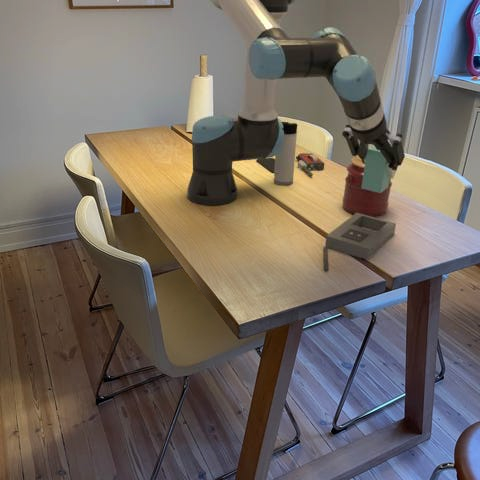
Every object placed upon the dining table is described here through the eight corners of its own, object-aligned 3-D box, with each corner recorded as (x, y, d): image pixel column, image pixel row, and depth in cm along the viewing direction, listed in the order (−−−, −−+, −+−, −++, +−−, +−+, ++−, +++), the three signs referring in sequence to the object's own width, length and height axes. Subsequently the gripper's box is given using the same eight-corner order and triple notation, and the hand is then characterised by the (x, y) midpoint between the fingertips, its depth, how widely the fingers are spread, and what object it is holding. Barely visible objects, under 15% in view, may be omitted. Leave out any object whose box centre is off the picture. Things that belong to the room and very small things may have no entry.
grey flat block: (367, 260, 116) (369, 247, 114) (325, 246, 121) (326, 234, 120) (394, 233, 129) (396, 221, 127) (355, 222, 135) (356, 211, 133)
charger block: (380, 193, 119) (388, 148, 114) (361, 188, 122) (367, 144, 117) (388, 187, 123) (395, 143, 118) (369, 182, 126) (375, 139, 120)
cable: (328, 272, 111) (328, 268, 110) (323, 271, 111) (324, 267, 110) (327, 249, 120) (327, 245, 120) (323, 248, 120) (323, 245, 120)
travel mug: (270, 183, 160) (273, 122, 151) (278, 177, 165) (282, 118, 156) (287, 187, 157) (292, 125, 148) (295, 180, 163) (300, 120, 153)
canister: (354, 219, 137) (363, 158, 128) (334, 201, 148) (341, 144, 140) (395, 215, 140) (407, 155, 132) (373, 198, 151) (382, 142, 143)
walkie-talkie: (290, 160, 183) (308, 179, 166) (291, 149, 181) (309, 166, 164) (312, 159, 185) (332, 178, 167) (313, 148, 183) (334, 165, 165)
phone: (272, 172, 168) (255, 159, 180) (272, 175, 169) (254, 161, 181) (292, 170, 171) (273, 157, 183) (291, 172, 171) (273, 159, 183)
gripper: (320, 124, 108) (343, 176, 128) (400, 139, 99) (412, 192, 118) (334, 96, 110) (355, 151, 129) (414, 108, 100) (423, 166, 120)
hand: (382, 171), depth 124 cm, fingers closed on charger block, 5 cm apart
